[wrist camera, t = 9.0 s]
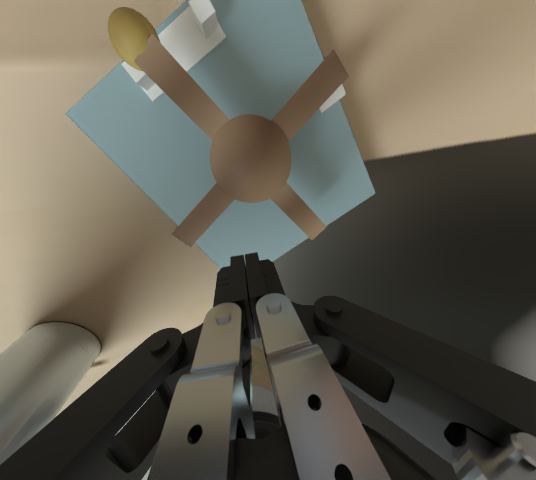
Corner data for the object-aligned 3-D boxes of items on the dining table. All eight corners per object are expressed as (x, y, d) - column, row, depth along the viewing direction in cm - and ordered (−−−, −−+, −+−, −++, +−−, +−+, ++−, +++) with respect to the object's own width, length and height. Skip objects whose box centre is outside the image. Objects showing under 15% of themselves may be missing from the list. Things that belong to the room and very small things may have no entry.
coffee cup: (275, 315, 31) (304, 437, 18) (258, 353, 35) (271, 480, 21) (219, 307, 29) (203, 440, 15) (206, 348, 32) (183, 488, 19)
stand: (237, 271, 27) (236, 295, 22) (91, 120, 18) (41, 108, 13) (364, 186, 24) (393, 193, 20) (271, -43, 15) (285, -127, 11)
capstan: (363, 161, 20) (401, 163, 15) (252, 267, 23) (255, 294, 18) (218, -63, 12) (207, -189, 8) (85, 140, 16) (23, 135, 11)
